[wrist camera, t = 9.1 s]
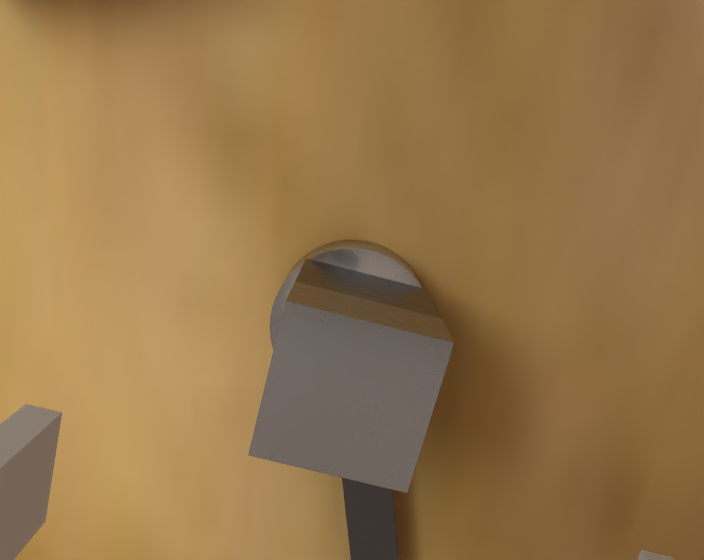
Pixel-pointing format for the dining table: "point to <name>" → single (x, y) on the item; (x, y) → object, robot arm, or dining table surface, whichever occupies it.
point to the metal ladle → (360, 498)
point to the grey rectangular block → (352, 377)
